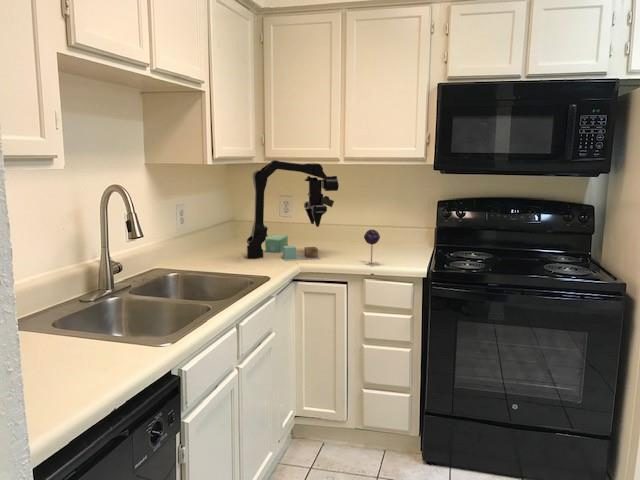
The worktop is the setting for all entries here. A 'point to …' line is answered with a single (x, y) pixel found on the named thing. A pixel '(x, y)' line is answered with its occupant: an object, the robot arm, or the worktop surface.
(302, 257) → the board
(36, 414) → the worktop surface
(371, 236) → the lollipop
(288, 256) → the teal block
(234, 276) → the worktop surface
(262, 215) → the robot arm
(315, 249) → the walnut base
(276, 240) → the box
